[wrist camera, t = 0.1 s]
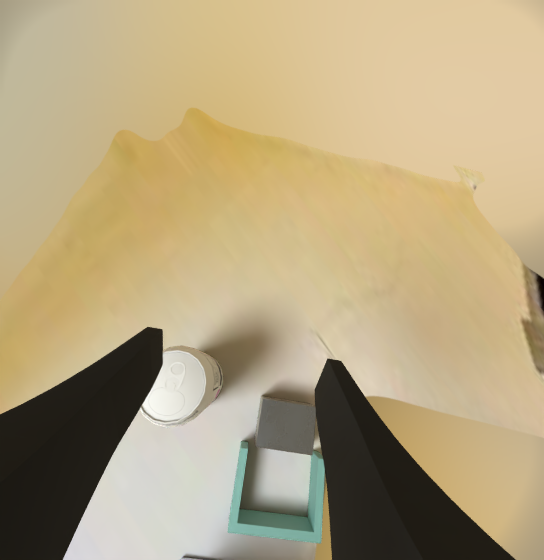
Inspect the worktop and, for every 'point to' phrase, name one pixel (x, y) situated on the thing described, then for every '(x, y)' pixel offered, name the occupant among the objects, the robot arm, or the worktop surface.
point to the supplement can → (182, 387)
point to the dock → (275, 522)
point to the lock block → (285, 425)
